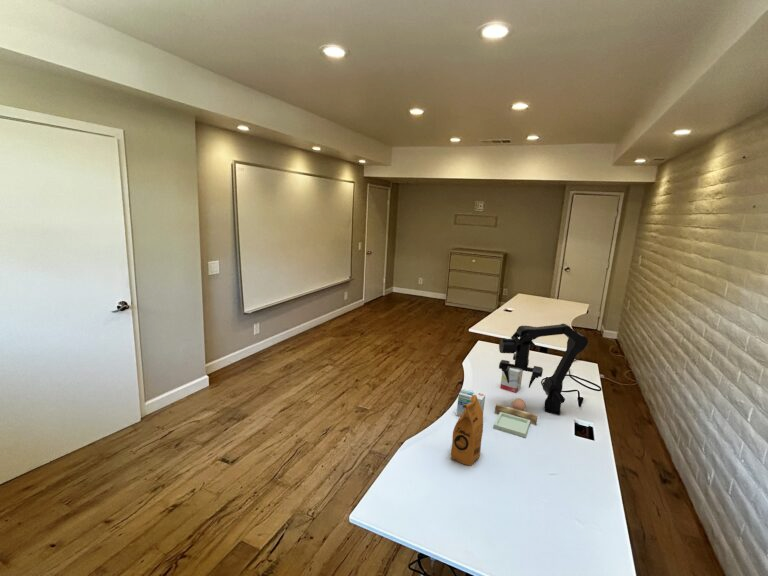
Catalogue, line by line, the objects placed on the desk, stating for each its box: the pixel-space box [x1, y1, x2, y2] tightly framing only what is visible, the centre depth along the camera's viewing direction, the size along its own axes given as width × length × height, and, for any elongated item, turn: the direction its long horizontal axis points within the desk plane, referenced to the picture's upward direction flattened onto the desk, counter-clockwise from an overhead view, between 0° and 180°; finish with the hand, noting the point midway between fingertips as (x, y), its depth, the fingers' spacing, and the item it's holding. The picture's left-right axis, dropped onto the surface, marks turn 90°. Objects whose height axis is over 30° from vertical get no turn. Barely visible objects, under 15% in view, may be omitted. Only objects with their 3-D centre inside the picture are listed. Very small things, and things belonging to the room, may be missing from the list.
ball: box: [511, 397, 527, 411], centre depth 178 cm, size 6×6×6 cm
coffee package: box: [450, 395, 484, 467], centre depth 140 cm, size 10×12×22 cm
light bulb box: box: [456, 388, 486, 418], centre depth 170 cm, size 11×7×11 cm, turn 62°
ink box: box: [499, 368, 524, 394], centre depth 202 cm, size 9×9×12 cm
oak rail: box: [494, 403, 539, 426], centre depth 171 cm, size 18×2×4 cm, turn 61°
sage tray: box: [492, 412, 531, 439], centre depth 165 cm, size 13×13×2 cm
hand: (518, 385), depth 178 cm, fingers open, 9 cm apart
